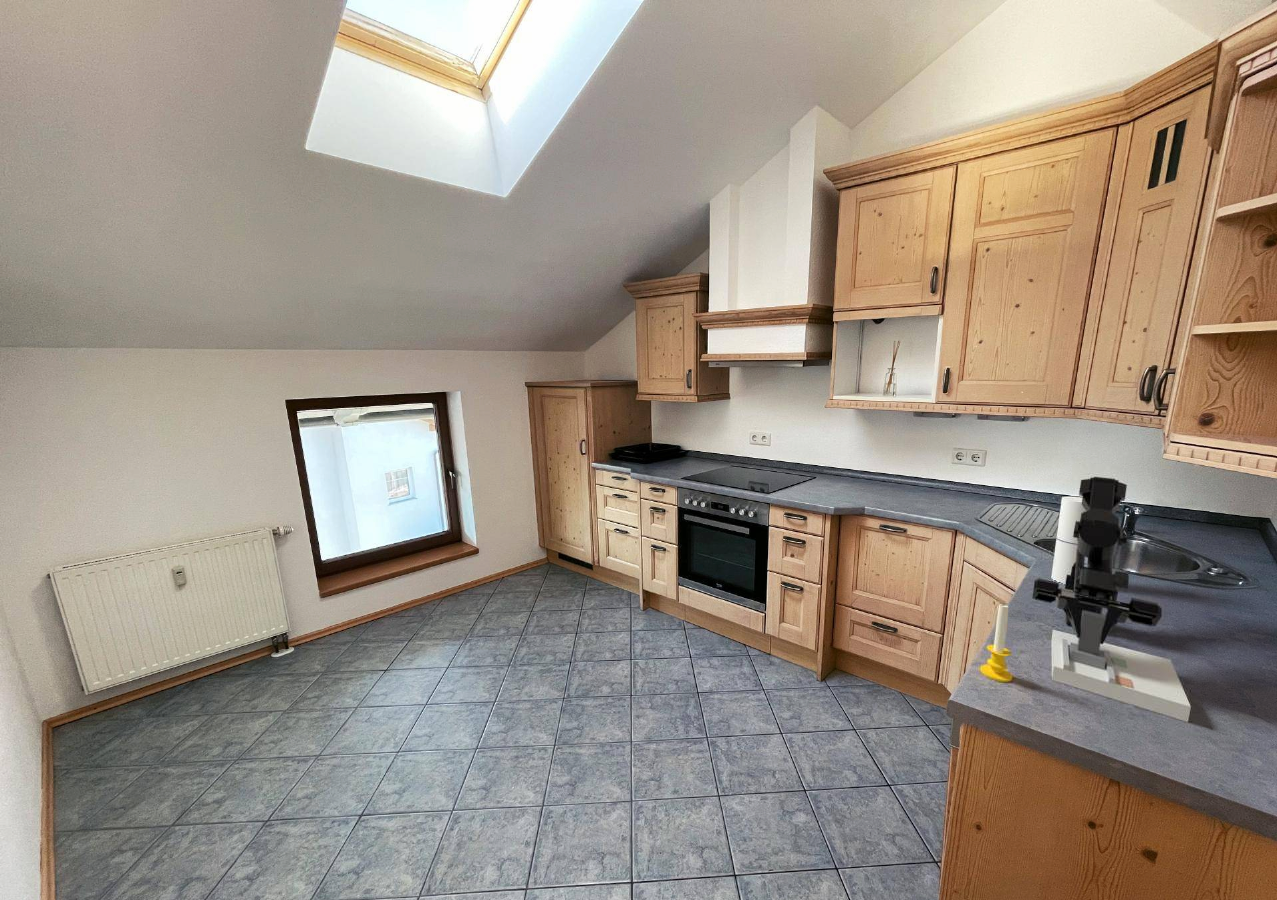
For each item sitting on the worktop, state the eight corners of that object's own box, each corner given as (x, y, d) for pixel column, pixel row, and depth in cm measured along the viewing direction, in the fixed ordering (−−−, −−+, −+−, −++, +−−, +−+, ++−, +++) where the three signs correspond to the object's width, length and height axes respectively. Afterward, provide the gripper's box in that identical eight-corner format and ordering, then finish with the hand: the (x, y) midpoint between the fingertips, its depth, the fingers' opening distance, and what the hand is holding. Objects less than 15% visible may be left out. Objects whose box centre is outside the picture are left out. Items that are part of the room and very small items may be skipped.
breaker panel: (1051, 641, 107) (1053, 625, 107) (1168, 673, 96) (1171, 655, 95) (1051, 679, 94) (1054, 661, 93) (1187, 722, 82) (1191, 701, 81)
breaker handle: (1069, 651, 98) (1075, 606, 97) (1102, 660, 95) (1109, 614, 93) (1069, 659, 95) (1076, 613, 94) (1104, 669, 92) (1111, 622, 90)
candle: (977, 664, 99) (984, 595, 97) (1007, 669, 97) (1015, 599, 95) (984, 678, 94) (992, 606, 92) (1016, 684, 92) (1025, 611, 90)
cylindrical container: (1049, 574, 143) (1060, 495, 140) (1081, 579, 139) (1093, 498, 136) (1052, 582, 138) (1063, 500, 134) (1085, 588, 134) (1098, 504, 130)
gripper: (1039, 542, 101) (1032, 609, 94) (1168, 564, 89) (1170, 643, 82) (1035, 566, 108) (1028, 630, 101) (1154, 589, 96) (1155, 663, 89)
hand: (1090, 640), depth 93 cm, fingers closed on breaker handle, 3 cm apart
